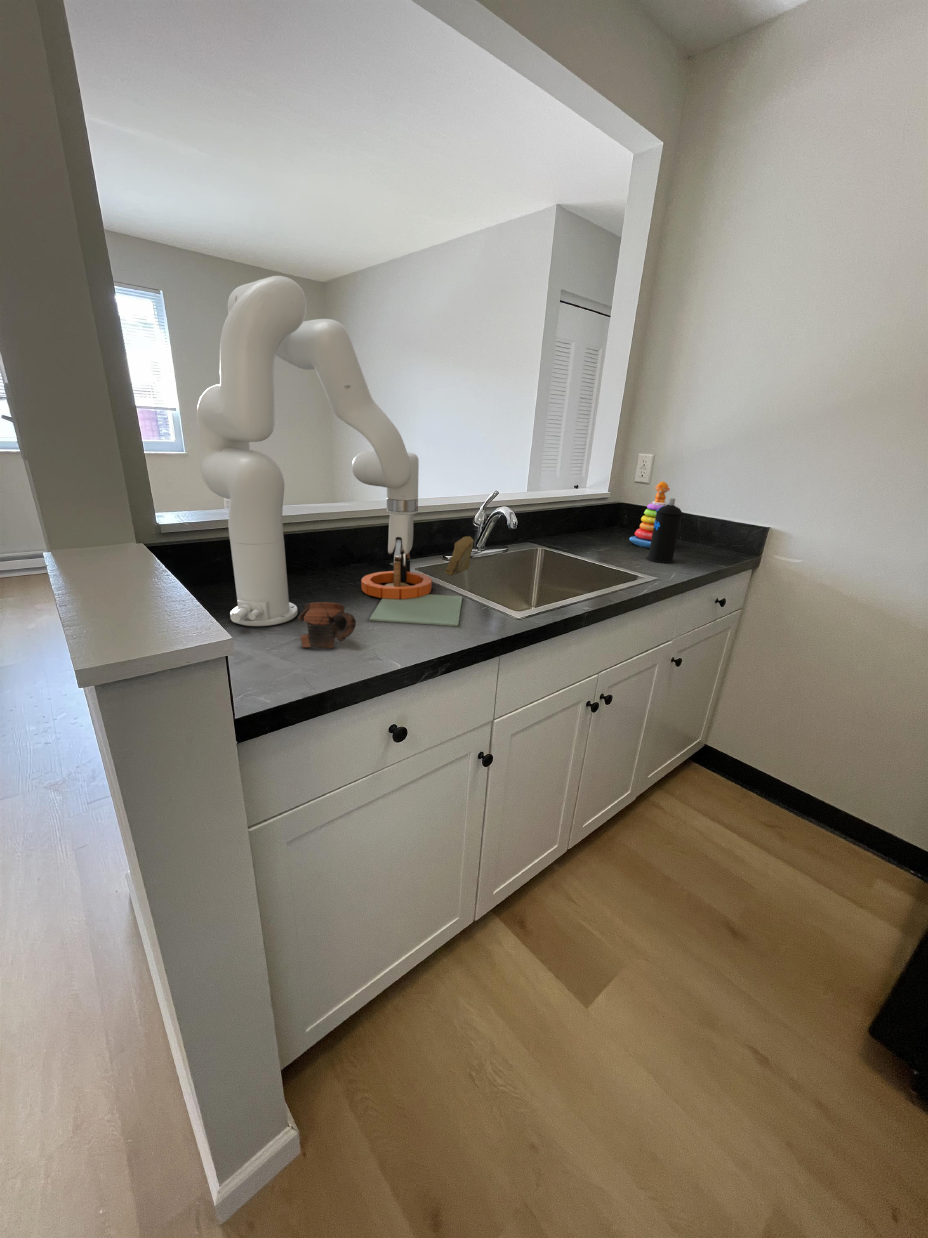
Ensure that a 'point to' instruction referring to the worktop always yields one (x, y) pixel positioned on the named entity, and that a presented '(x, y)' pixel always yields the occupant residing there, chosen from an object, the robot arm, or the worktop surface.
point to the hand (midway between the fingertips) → (401, 577)
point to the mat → (420, 610)
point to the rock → (460, 556)
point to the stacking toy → (650, 517)
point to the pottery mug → (325, 624)
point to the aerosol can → (665, 533)
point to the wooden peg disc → (397, 575)
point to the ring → (391, 592)
